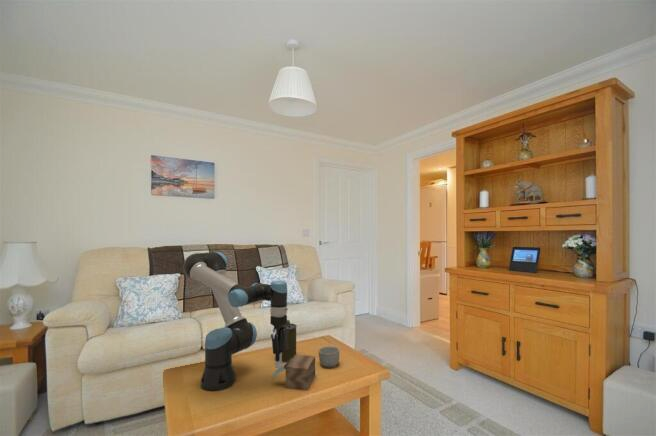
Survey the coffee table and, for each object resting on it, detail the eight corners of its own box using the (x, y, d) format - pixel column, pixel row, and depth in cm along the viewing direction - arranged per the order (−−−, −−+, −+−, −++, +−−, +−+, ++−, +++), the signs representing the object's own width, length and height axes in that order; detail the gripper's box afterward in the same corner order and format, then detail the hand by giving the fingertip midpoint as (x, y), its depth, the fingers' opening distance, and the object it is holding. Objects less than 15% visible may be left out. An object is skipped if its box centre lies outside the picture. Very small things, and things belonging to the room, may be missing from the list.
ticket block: (285, 387, 141) (285, 366, 141) (295, 373, 155) (295, 354, 155) (307, 390, 139) (307, 368, 139) (315, 375, 153) (315, 356, 153)
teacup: (337, 370, 158) (337, 354, 158) (316, 368, 160) (316, 352, 160) (341, 359, 172) (341, 344, 172) (322, 357, 174) (322, 342, 174)
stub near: (273, 377, 143) (271, 375, 143) (277, 372, 148) (276, 370, 148) (285, 369, 142) (283, 366, 142) (289, 364, 147) (287, 362, 147)
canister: (278, 354, 178) (277, 318, 178) (296, 354, 179) (296, 318, 179) (276, 363, 167) (276, 324, 167) (296, 362, 168) (296, 324, 169)
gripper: (281, 319, 139) (281, 374, 138) (291, 311, 151) (290, 362, 151) (265, 318, 140) (264, 372, 139) (276, 311, 153) (275, 360, 152)
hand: (278, 367), depth 145 cm, fingers closed
